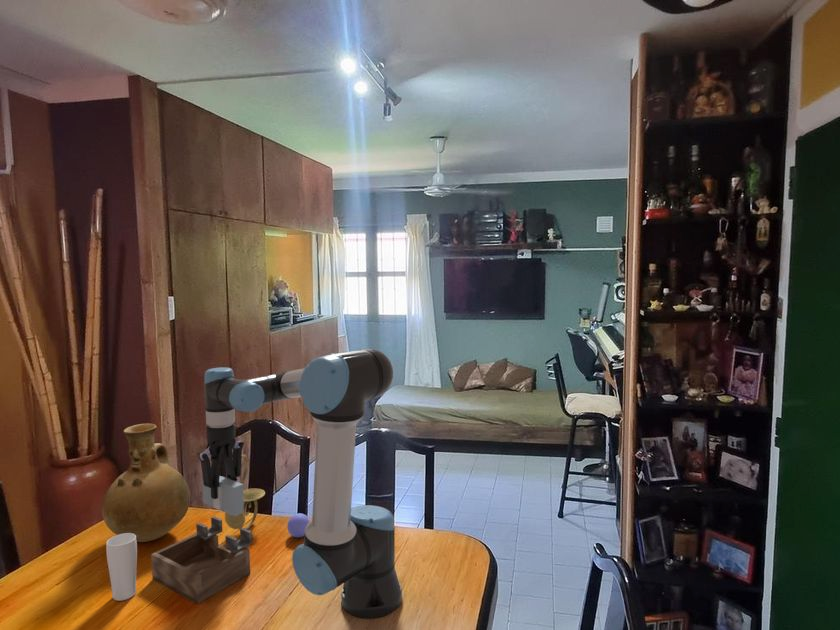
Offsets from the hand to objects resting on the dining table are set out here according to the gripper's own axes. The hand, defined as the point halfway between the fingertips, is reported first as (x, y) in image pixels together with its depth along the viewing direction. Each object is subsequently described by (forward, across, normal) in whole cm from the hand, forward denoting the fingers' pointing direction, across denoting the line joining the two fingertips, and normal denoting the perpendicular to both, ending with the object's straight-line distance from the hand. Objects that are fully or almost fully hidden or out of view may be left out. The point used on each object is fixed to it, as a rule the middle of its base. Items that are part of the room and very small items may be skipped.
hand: (223, 506), depth 151 cm
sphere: (+17, -22, +6) cm, 29 cm away
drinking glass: (+17, +24, -9) cm, 30 cm away
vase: (+17, +4, -32) cm, 36 cm away
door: (+1, 0, 0) cm, 1 cm away
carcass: (+17, +7, 0) cm, 18 cm away
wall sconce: (+17, -16, -11) cm, 26 cm away
